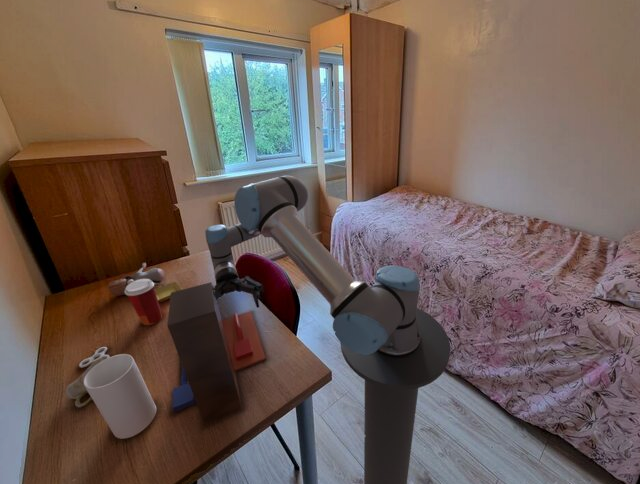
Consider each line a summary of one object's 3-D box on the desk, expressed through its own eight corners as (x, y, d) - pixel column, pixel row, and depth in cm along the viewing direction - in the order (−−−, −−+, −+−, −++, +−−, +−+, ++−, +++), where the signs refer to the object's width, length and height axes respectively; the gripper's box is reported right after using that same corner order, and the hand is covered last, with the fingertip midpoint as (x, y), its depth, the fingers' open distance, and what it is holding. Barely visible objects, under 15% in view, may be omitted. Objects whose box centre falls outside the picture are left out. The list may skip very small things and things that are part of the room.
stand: (235, 372, 76) (211, 281, 64) (242, 408, 67) (215, 311, 55) (202, 385, 72) (170, 292, 60) (204, 425, 63) (167, 325, 51)
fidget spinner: (77, 369, 77) (76, 367, 77) (90, 351, 83) (89, 349, 83) (107, 363, 79) (106, 361, 79) (117, 345, 85) (116, 343, 84)
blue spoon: (176, 353, 82) (175, 349, 81) (193, 347, 84) (192, 343, 83) (174, 412, 66) (172, 408, 66) (195, 403, 68) (193, 399, 68)
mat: (251, 312, 97) (251, 311, 97) (265, 359, 79) (265, 357, 79) (213, 324, 92) (212, 323, 92) (219, 377, 74) (218, 376, 74)
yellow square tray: (151, 295, 107) (150, 290, 106) (176, 285, 113) (175, 280, 112) (158, 305, 101) (156, 300, 101) (184, 294, 107) (183, 289, 106)
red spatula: (228, 318, 94) (227, 314, 93) (242, 313, 96) (241, 310, 95) (236, 361, 78) (235, 357, 78) (253, 355, 80) (252, 351, 79)
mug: (66, 393, 71) (77, 353, 72) (115, 388, 77) (125, 351, 77) (58, 411, 65) (70, 367, 66) (112, 404, 71) (122, 364, 71)
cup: (123, 406, 68) (96, 358, 61) (161, 398, 69) (140, 350, 63) (105, 443, 60) (73, 393, 54) (148, 432, 62) (123, 382, 56)
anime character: (172, 274, 108) (115, 297, 96) (177, 288, 110) (122, 312, 98) (150, 254, 123) (98, 272, 111) (154, 267, 125) (104, 285, 113)
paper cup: (167, 309, 99) (155, 275, 94) (163, 323, 93) (149, 288, 87) (141, 315, 97) (127, 280, 91) (135, 330, 90) (119, 294, 85)
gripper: (263, 275, 110) (277, 307, 92) (190, 295, 99) (191, 335, 82) (260, 259, 107) (273, 288, 89) (185, 277, 96) (184, 315, 79)
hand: (234, 311), depth 86 cm, fingers open, 13 cm apart
